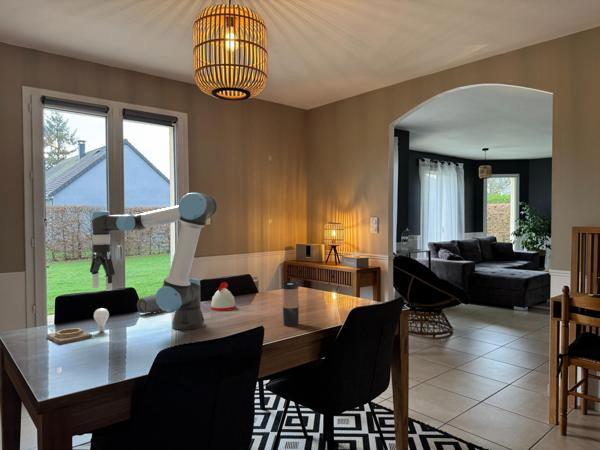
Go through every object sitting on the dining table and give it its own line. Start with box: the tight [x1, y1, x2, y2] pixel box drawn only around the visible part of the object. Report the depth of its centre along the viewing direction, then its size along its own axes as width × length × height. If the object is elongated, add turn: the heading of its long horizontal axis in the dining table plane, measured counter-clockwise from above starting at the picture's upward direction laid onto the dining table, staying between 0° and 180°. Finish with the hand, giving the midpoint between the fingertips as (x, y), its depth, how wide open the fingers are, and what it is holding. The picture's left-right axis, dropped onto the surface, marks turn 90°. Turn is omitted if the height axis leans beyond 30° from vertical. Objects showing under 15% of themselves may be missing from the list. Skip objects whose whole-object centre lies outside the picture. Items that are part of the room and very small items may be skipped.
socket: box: [46, 327, 93, 346], centre depth 186 cm, size 16×13×3 cm
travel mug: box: [282, 281, 300, 327], centre depth 204 cm, size 8×8×20 cm
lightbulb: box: [93, 307, 110, 333], centre depth 196 cm, size 6×6×11 cm
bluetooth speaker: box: [136, 293, 165, 314], centre depth 239 cm, size 23×9×10 cm, turn 148°
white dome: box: [210, 281, 236, 312], centre depth 244 cm, size 14×14×15 cm
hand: (102, 289), depth 199 cm, fingers open, 13 cm apart
